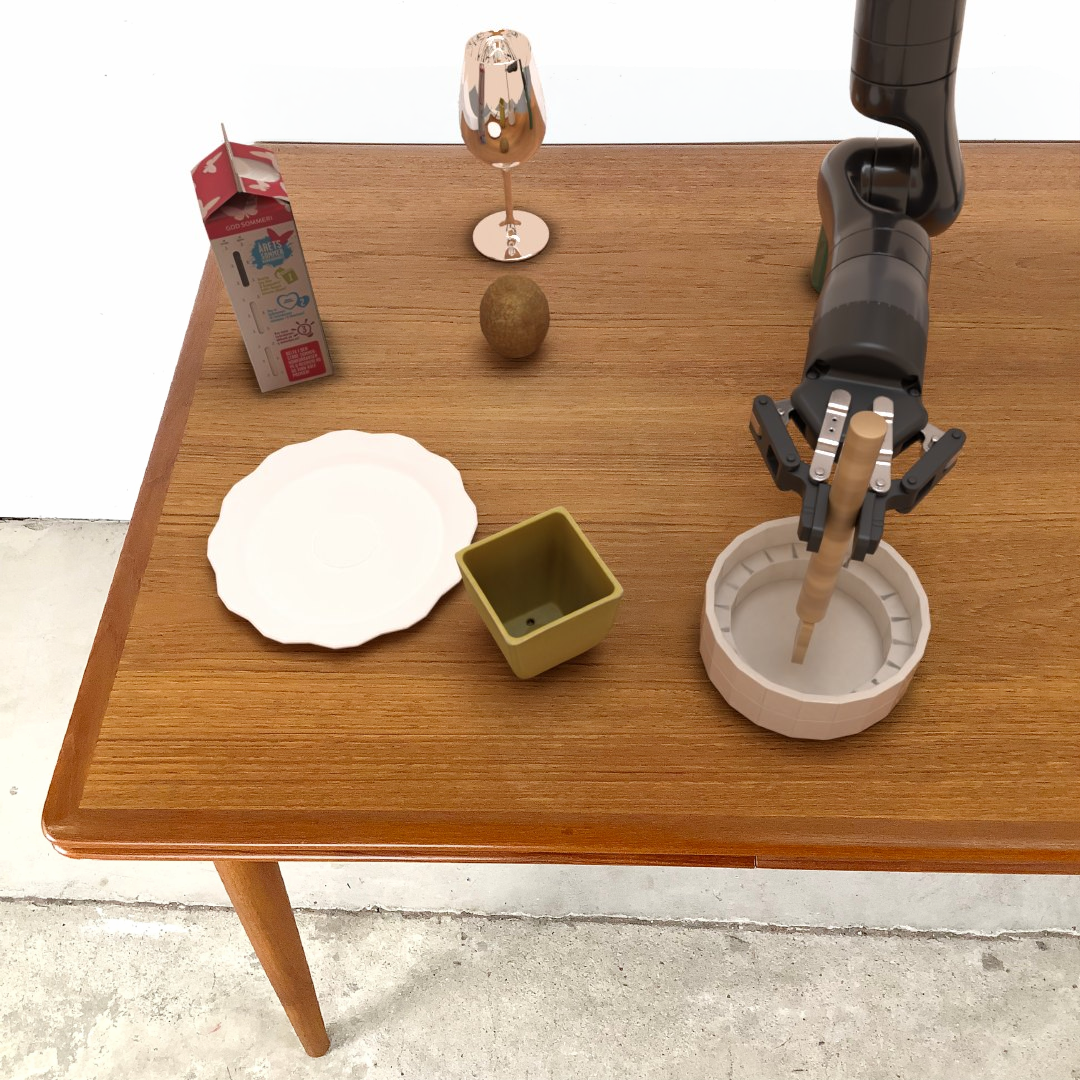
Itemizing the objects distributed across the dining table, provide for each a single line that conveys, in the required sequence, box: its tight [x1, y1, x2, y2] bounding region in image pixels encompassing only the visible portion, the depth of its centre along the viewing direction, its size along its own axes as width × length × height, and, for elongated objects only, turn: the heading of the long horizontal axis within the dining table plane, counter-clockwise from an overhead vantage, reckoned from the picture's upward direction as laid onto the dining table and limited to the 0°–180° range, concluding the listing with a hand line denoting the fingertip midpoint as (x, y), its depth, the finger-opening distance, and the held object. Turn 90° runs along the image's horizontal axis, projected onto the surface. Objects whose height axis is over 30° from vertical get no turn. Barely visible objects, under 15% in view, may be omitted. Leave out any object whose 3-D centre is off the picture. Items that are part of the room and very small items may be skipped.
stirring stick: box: [791, 411, 888, 665], centre depth 70 cm, size 3×2×24 cm
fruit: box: [479, 273, 551, 359], centre depth 98 cm, size 6×6×8 cm
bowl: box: [699, 515, 932, 741], centre depth 80 cm, size 15×15×6 cm
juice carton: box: [190, 122, 336, 393], centre depth 93 cm, size 7×7×22 cm
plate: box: [206, 429, 479, 650], centre depth 89 cm, size 21×21×2 cm
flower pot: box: [455, 505, 624, 680], centre depth 80 cm, size 9×9×9 cm
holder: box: [810, 221, 829, 295], centre depth 101 cm, size 5×5×10 cm
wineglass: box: [458, 28, 550, 263], centre depth 102 cm, size 8×8×20 cm
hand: (837, 548), depth 65 cm, fingers closed on stirring stick, 2 cm apart
